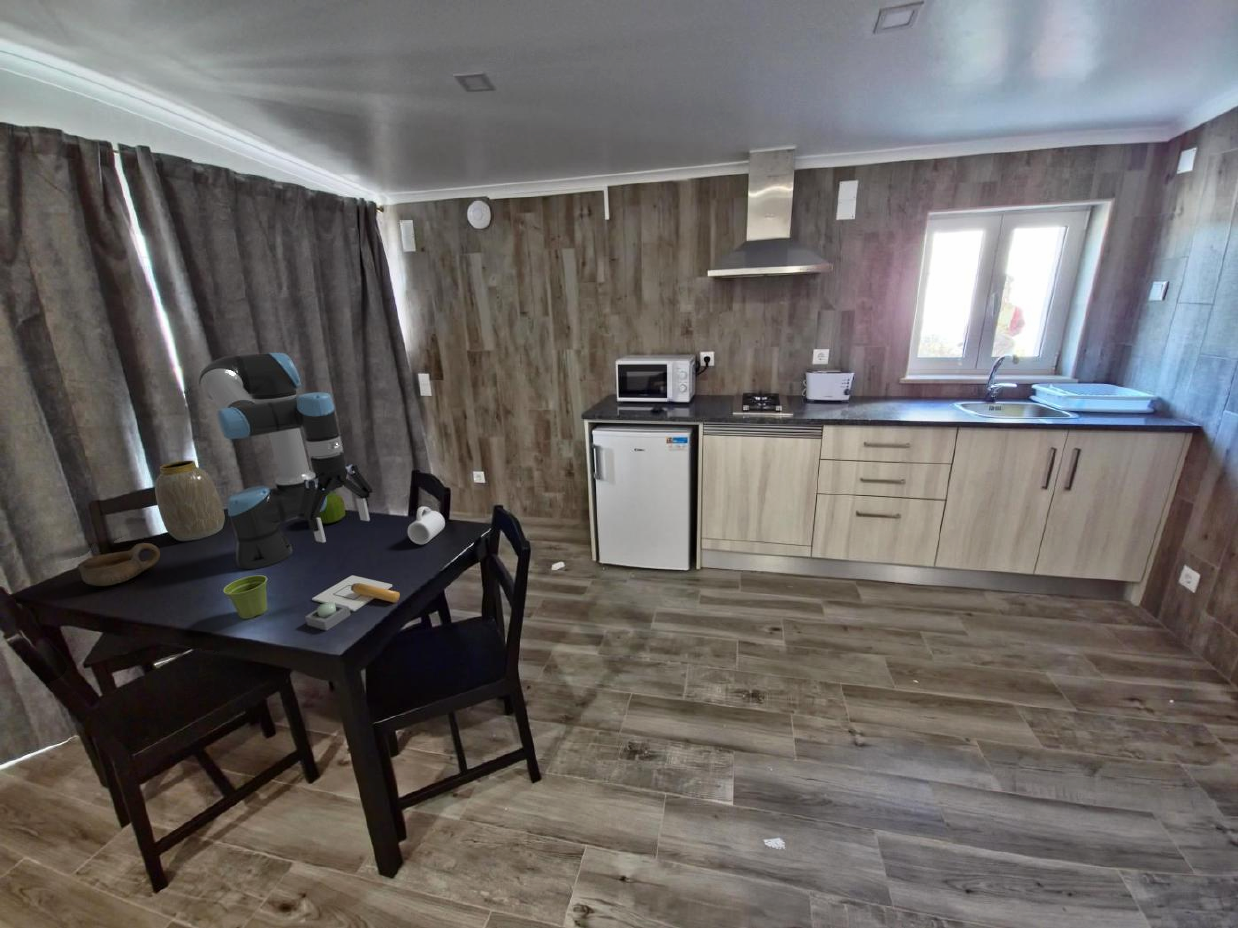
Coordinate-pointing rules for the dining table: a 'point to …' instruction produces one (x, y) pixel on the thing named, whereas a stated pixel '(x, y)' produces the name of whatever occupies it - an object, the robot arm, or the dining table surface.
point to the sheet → (349, 593)
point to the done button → (326, 610)
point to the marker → (375, 592)
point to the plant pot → (248, 595)
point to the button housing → (329, 622)
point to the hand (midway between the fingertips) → (344, 530)
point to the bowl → (117, 566)
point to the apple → (332, 509)
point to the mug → (425, 526)
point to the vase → (188, 501)
